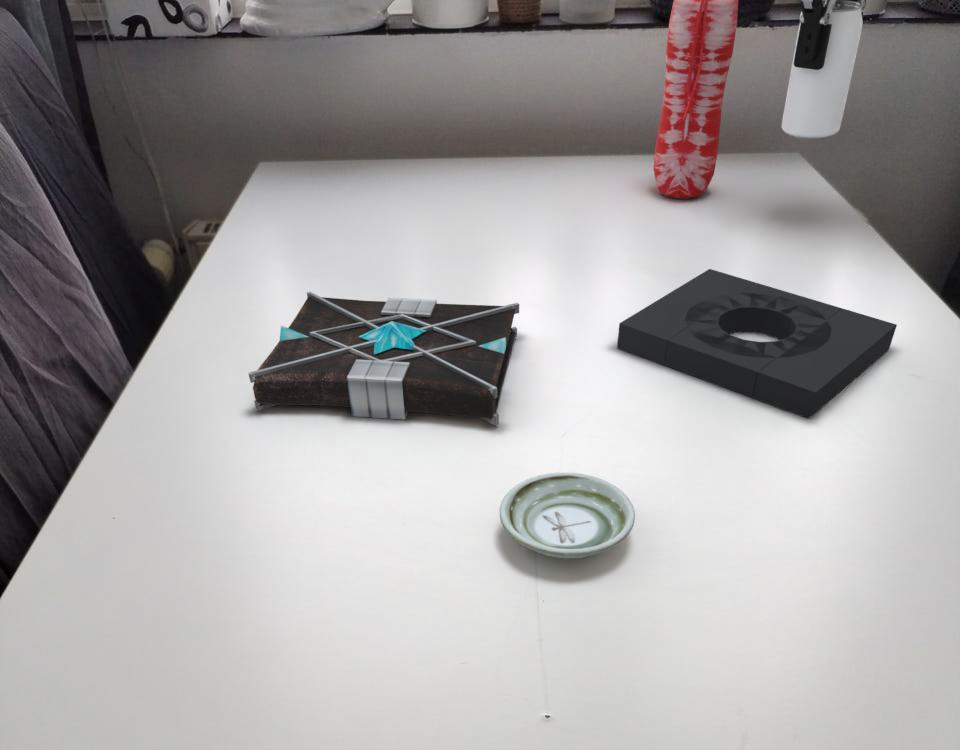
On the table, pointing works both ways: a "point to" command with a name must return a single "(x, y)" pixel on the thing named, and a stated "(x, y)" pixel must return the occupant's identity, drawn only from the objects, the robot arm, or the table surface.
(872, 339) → the pad
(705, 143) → the red tall rounded piece
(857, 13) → the can
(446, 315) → the book
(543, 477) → the saucer
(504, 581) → the table surface
